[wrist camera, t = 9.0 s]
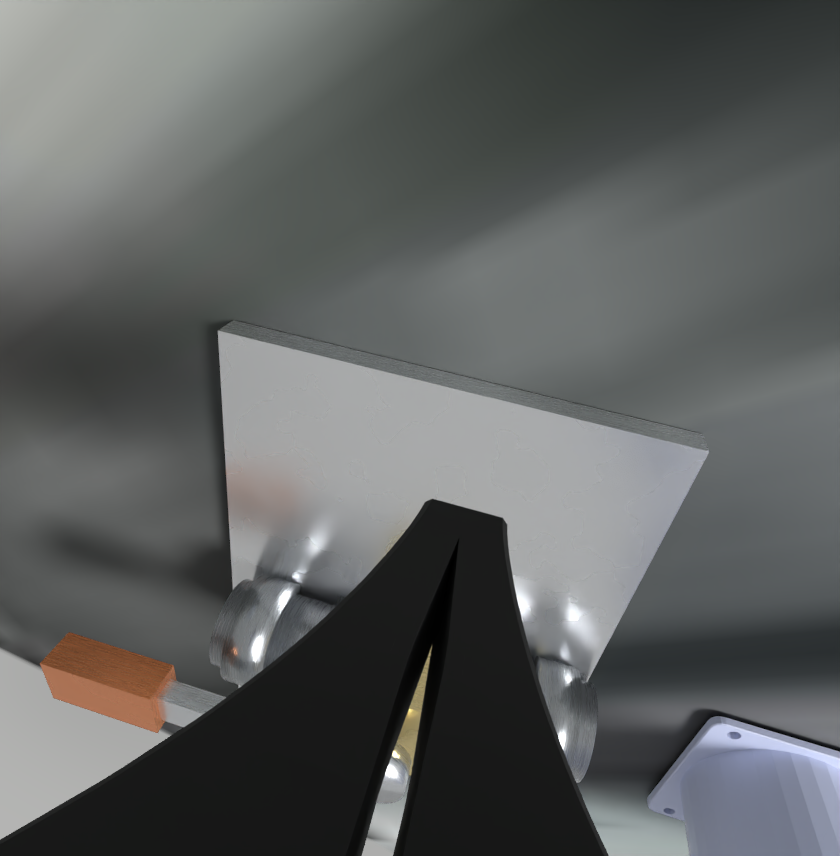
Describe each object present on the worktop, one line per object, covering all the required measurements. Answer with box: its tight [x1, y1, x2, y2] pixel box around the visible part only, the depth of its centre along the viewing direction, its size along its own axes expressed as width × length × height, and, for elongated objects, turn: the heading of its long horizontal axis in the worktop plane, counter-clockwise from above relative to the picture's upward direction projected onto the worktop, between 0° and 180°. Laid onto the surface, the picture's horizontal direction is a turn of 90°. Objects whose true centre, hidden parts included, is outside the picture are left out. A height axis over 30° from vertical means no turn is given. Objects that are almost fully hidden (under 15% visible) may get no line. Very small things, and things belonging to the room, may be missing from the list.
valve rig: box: [209, 320, 709, 783], centre depth 22 cm, size 16×22×6 cm
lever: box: [40, 632, 412, 803], centre depth 20 cm, size 14×3×1 cm, turn 82°
